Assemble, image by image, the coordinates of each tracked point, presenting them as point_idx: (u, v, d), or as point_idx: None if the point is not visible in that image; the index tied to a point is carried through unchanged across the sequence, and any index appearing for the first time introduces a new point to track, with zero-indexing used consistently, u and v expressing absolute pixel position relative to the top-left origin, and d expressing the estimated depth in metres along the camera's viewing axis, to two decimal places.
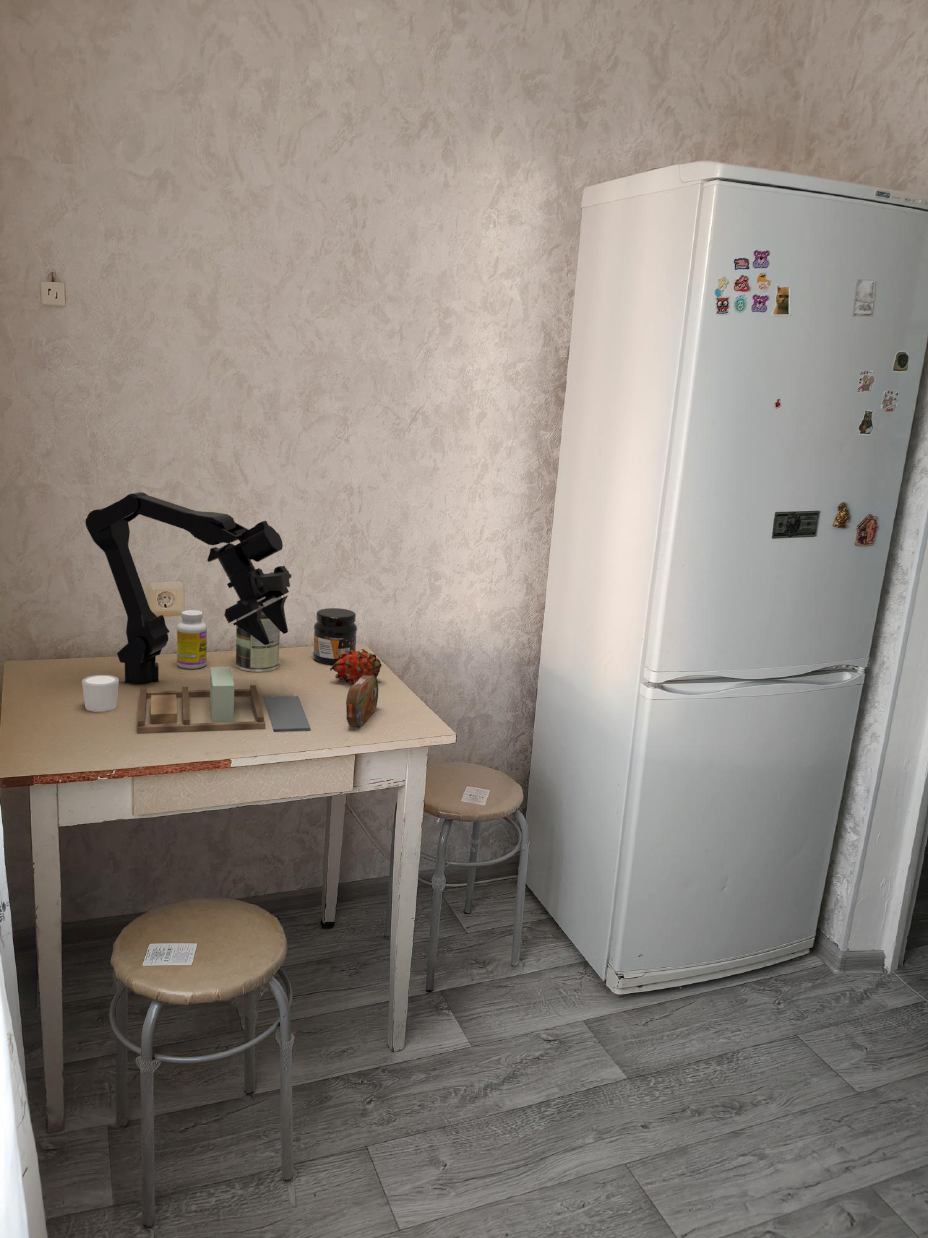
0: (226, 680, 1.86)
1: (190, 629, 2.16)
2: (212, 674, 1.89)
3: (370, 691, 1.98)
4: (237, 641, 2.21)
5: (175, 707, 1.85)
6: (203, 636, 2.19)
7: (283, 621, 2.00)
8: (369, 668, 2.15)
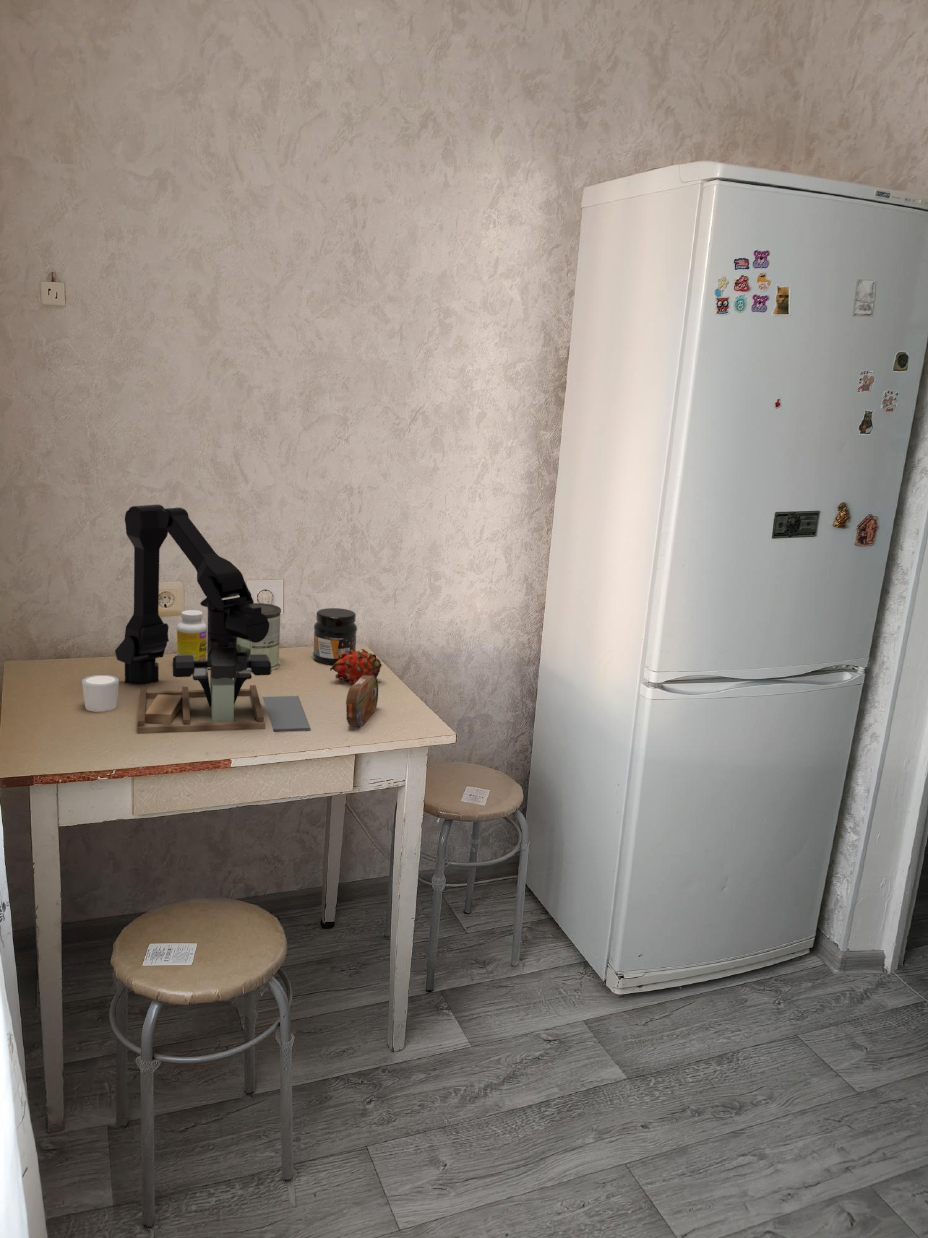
0: (226, 680, 1.86)
1: (190, 629, 2.16)
2: None
3: (370, 691, 1.98)
4: (237, 641, 2.21)
5: (173, 708, 1.85)
6: (203, 636, 2.19)
7: None
8: (369, 668, 2.15)
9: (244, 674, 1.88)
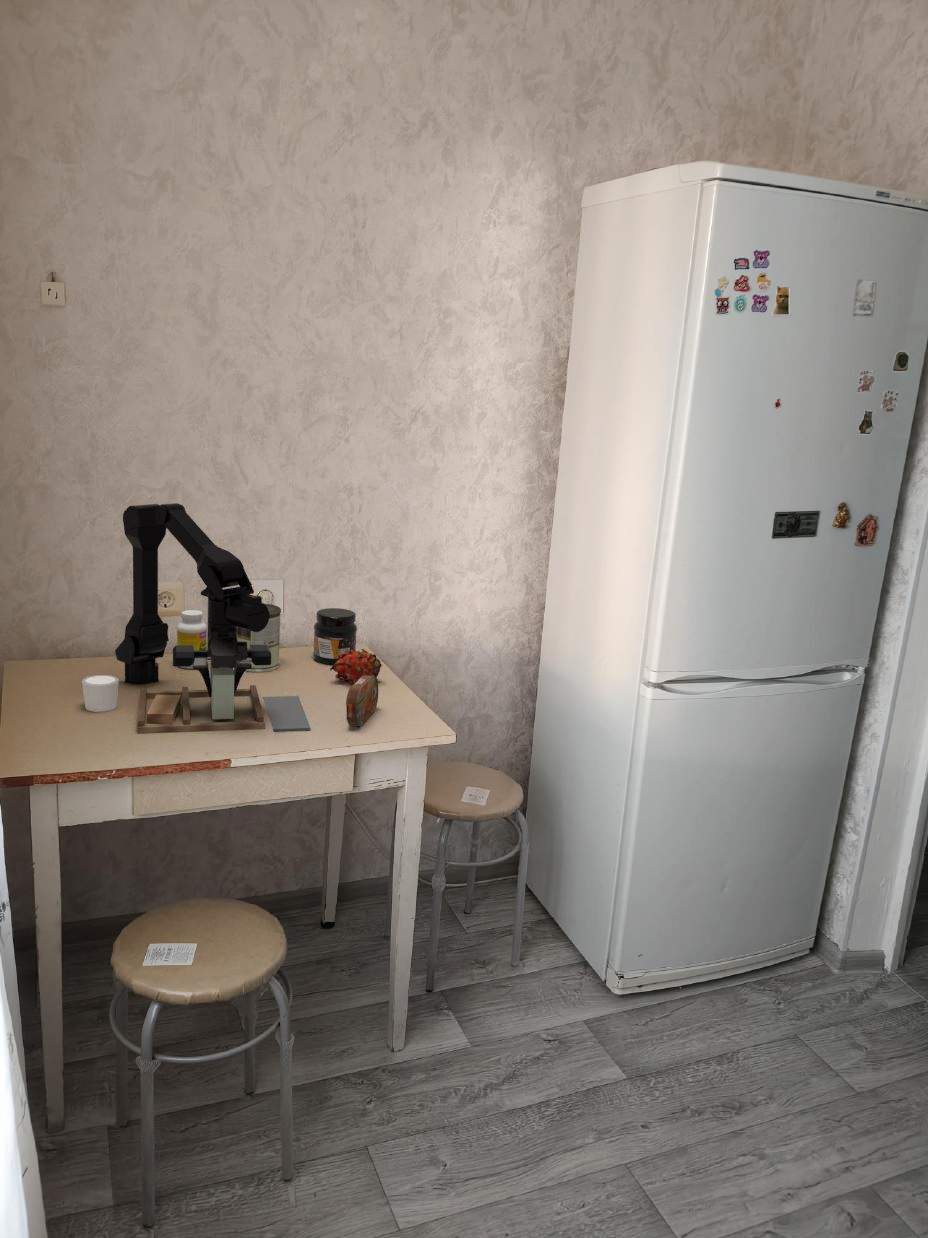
0: (226, 670, 1.86)
1: (190, 629, 2.16)
2: None
3: (370, 691, 1.98)
4: None
5: (174, 708, 1.85)
6: (204, 636, 2.19)
7: None
8: (369, 668, 2.15)
9: (244, 664, 1.88)
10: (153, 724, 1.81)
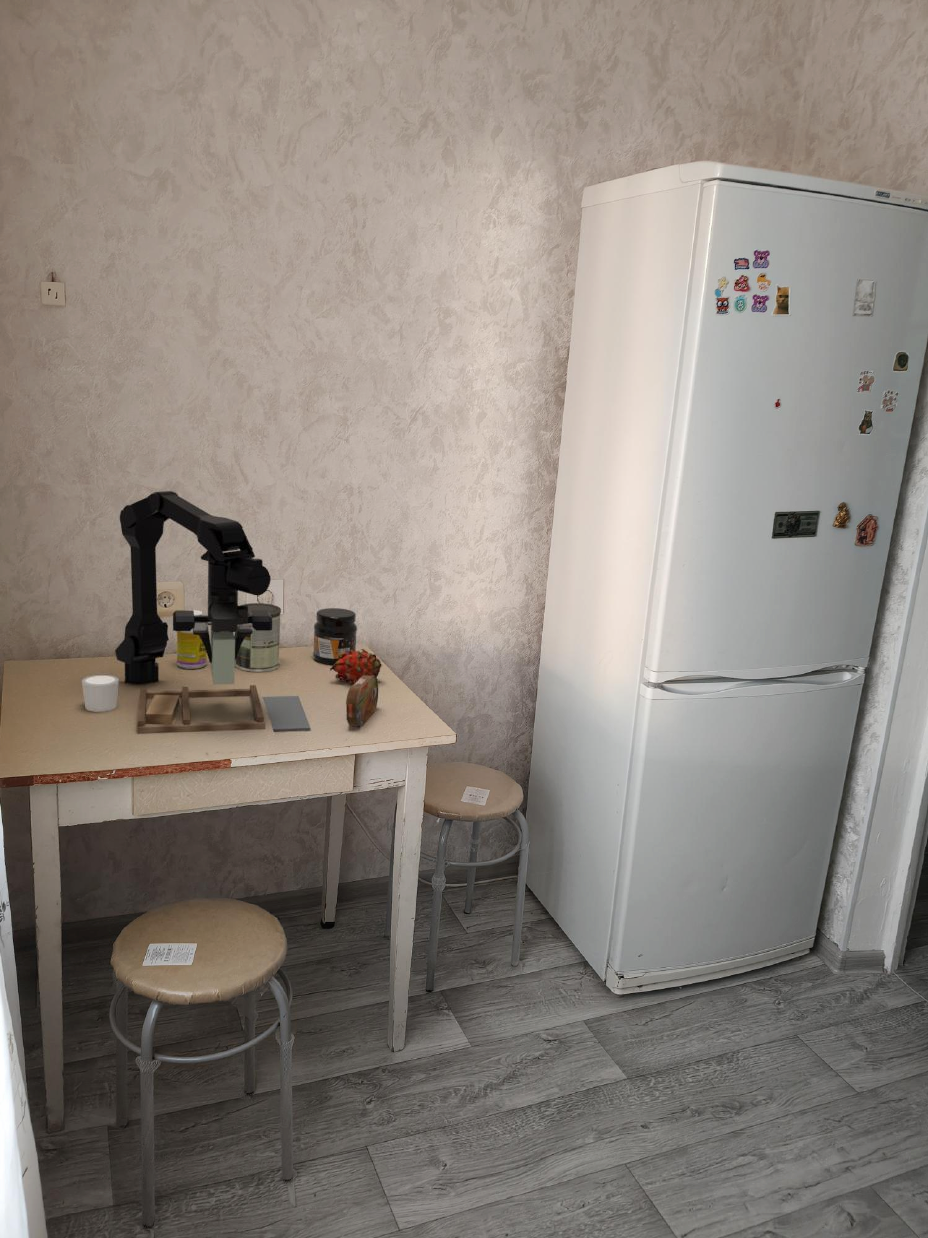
0: (226, 635, 1.84)
1: None
2: None
3: (370, 691, 1.98)
4: None
5: (173, 708, 1.85)
6: None
7: None
8: (369, 668, 2.15)
9: (245, 629, 1.86)
10: (153, 724, 1.81)
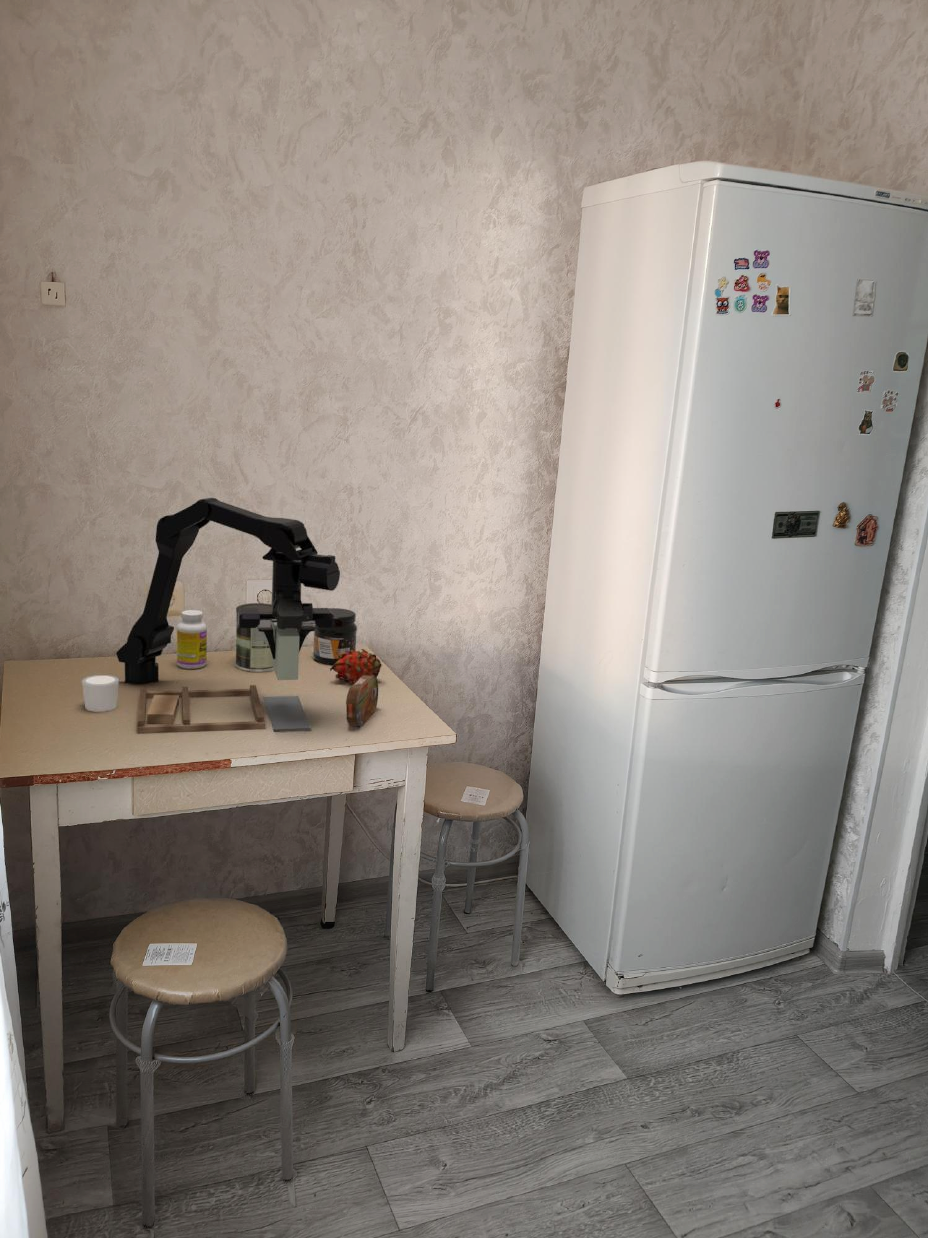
0: (290, 631, 1.88)
1: (190, 629, 2.16)
2: (276, 626, 1.91)
3: (370, 691, 1.98)
4: (237, 641, 2.21)
5: (174, 708, 1.85)
6: (204, 636, 2.19)
7: None
8: (369, 668, 2.15)
9: (308, 626, 1.90)
10: None
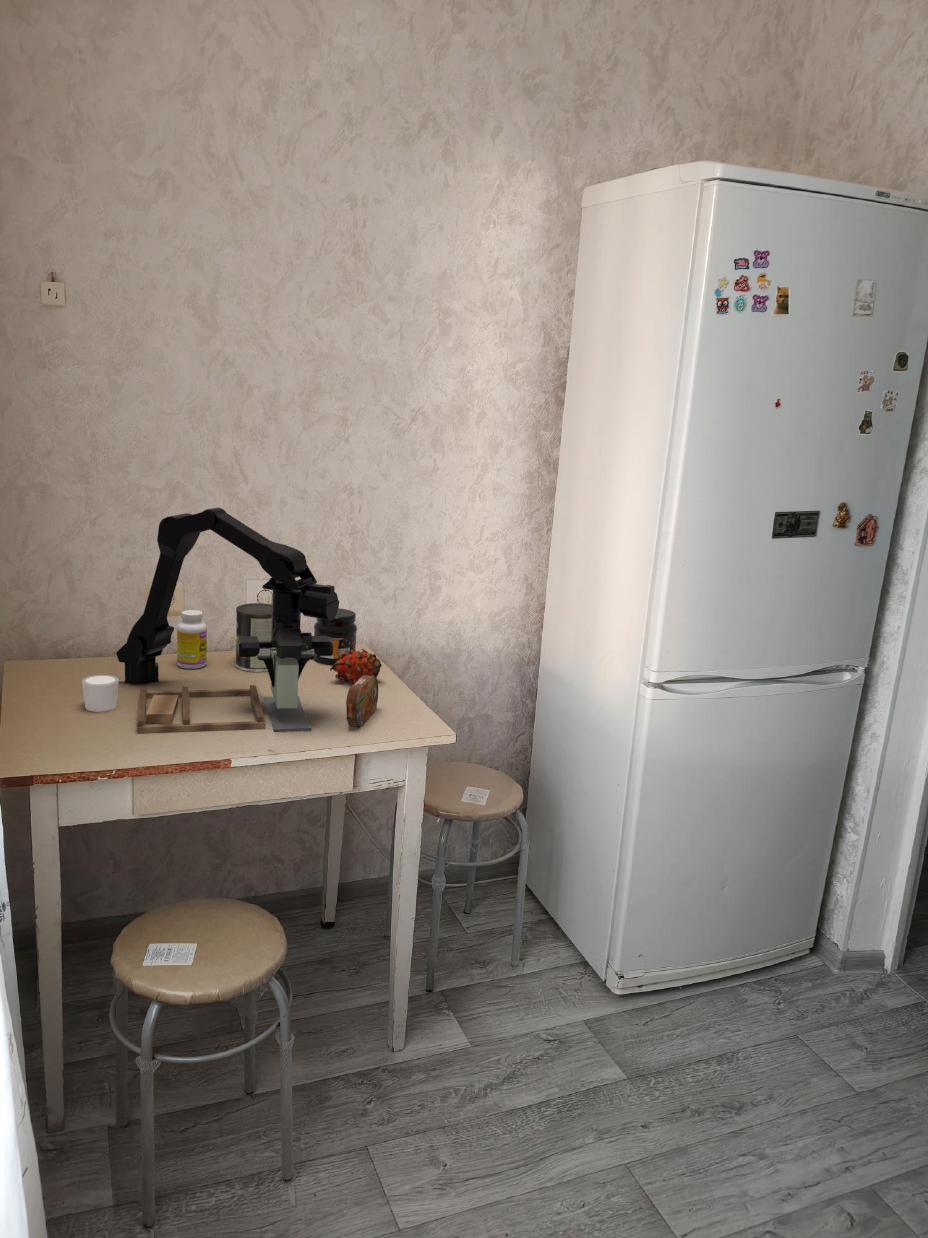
0: (289, 660, 1.90)
1: (190, 629, 2.16)
2: (275, 654, 1.93)
3: (370, 691, 1.98)
4: None
5: (173, 708, 1.85)
6: (203, 636, 2.19)
7: None
8: (369, 668, 2.15)
9: (307, 655, 1.92)
10: None
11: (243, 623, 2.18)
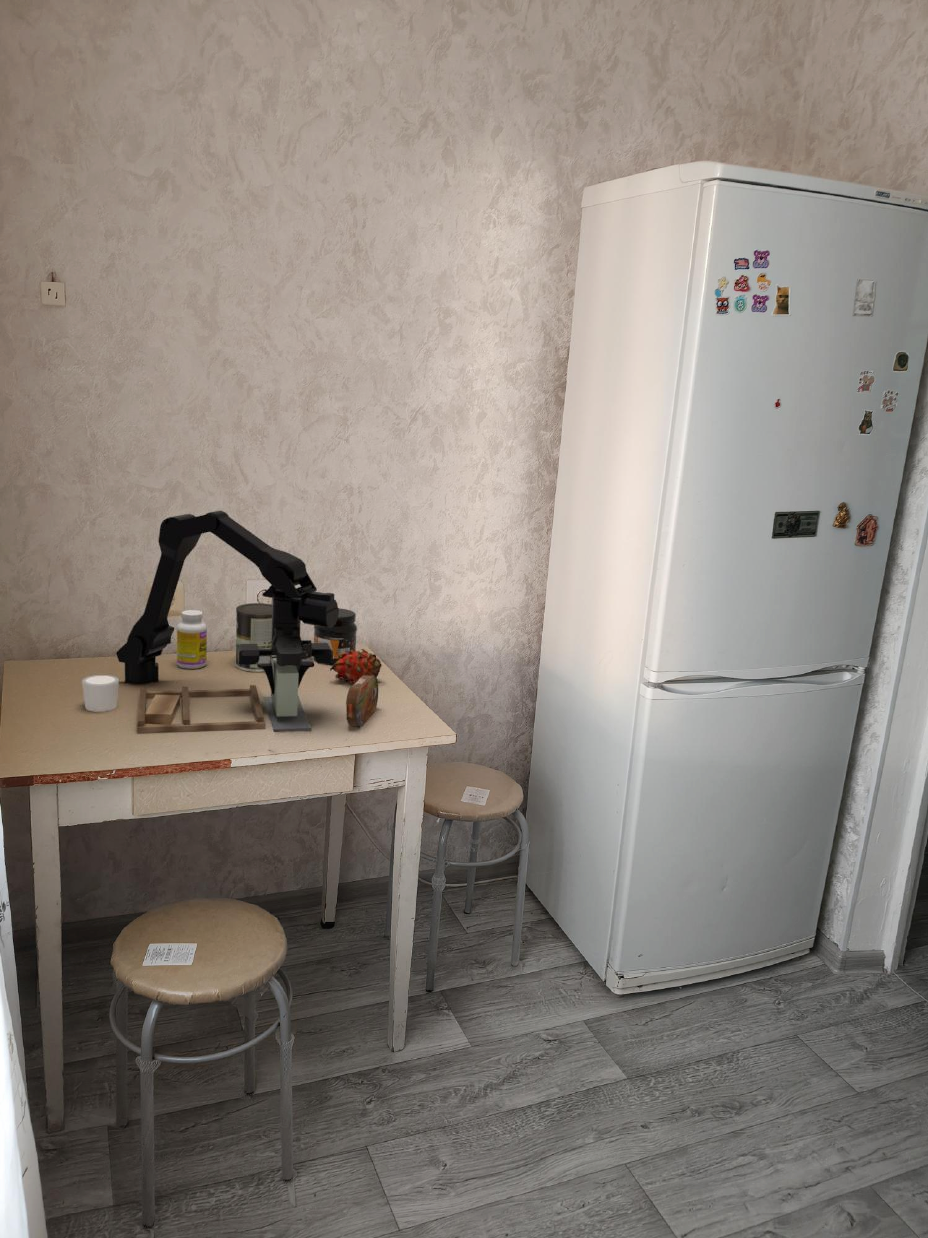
0: (289, 668, 1.90)
1: (190, 629, 2.16)
2: (275, 662, 1.93)
3: (370, 691, 1.98)
4: (237, 641, 2.21)
5: (172, 708, 1.85)
6: (204, 636, 2.19)
7: None
8: (369, 668, 2.15)
9: (307, 662, 1.92)
10: (153, 724, 1.81)
11: (243, 623, 2.18)
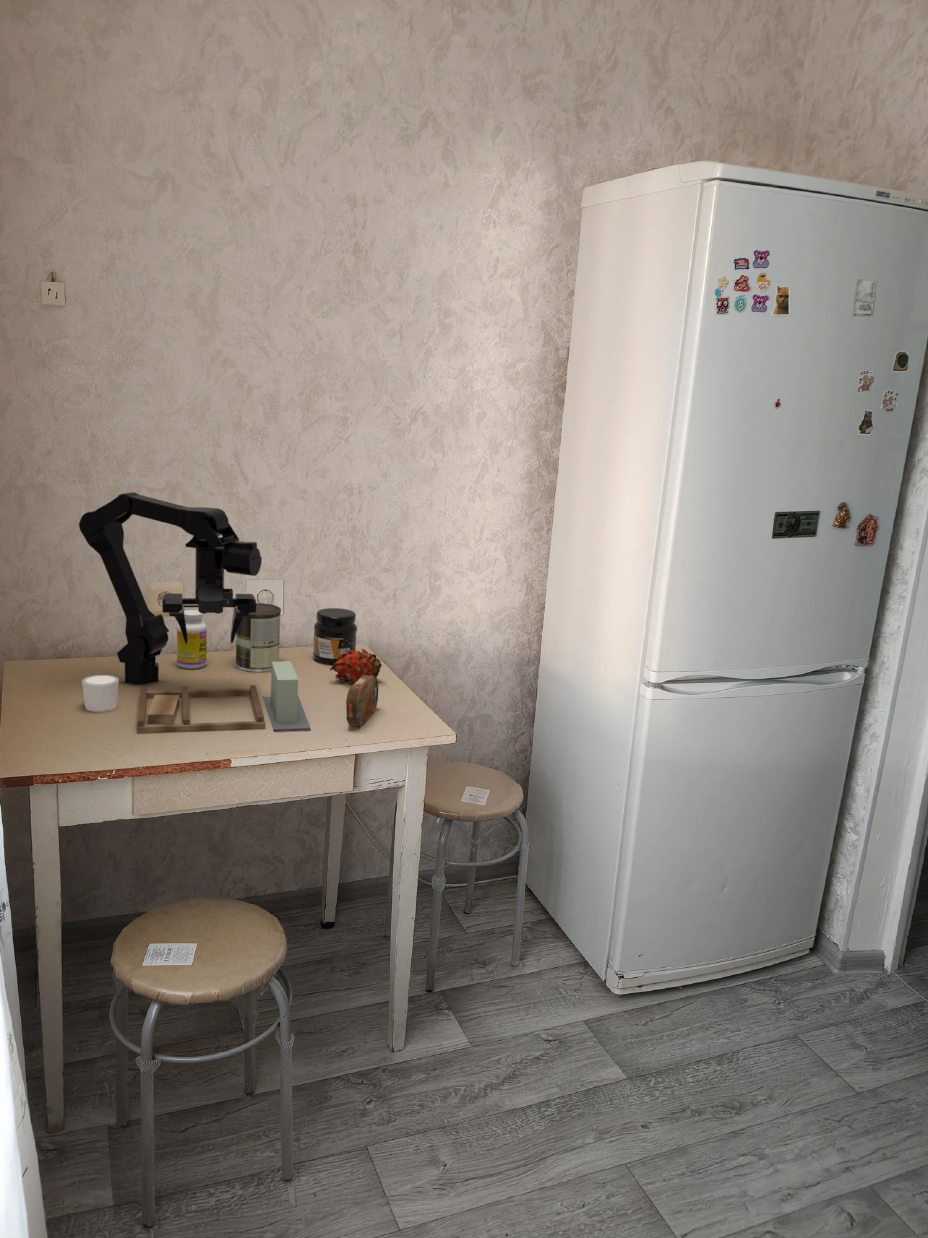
0: (289, 674, 1.91)
1: (190, 629, 2.16)
2: (275, 668, 1.94)
3: (370, 691, 1.98)
4: (237, 641, 2.21)
5: (174, 708, 1.85)
6: (203, 636, 2.19)
7: (231, 632, 1.99)
8: (369, 668, 2.15)
9: None
10: None
11: (243, 623, 2.18)
